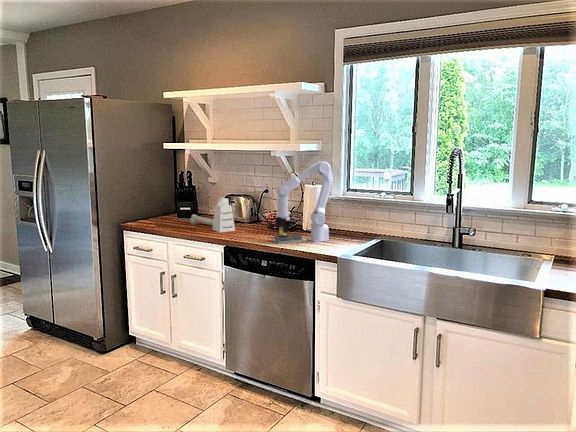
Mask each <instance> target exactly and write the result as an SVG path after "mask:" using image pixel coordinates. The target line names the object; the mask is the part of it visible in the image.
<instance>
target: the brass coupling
mask: <svg viewBox="0 0 576 432" xmlns="http://www.w3.org/2000/svg"><path fill="white" fill-rule="evenodd" d="M278 232H279V234H278V235H279V237H280V238H282V237H287V235H288V234H287V233H284V231H283V227H279V230H278Z"/></svg>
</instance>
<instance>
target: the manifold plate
mask: <svg viewBox="0 0 576 432" xmlns="http://www.w3.org/2000/svg"><path fill="white" fill-rule="evenodd" d="M308 239H309V238H308ZM308 239H307V238H305V237H303V235H302V234H299V233H296V234H291V236H290V235H288V234H287V237H282V238H280V237H279V234H275V235H274V238H271V242H272V243H273V242H274V243H275V244H277V245H281V244H292V243H302V242H308Z"/></svg>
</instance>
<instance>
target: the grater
mask: <svg viewBox="0 0 576 432" xmlns="http://www.w3.org/2000/svg"><path fill="white" fill-rule="evenodd" d="M229 200H230V199H229V198H228V197H227V198H225V197H218V199H217V204H215V205H214V213H213V214H214V215H213V219H212V220H213V226H212V231H215V232H217V233H226V232H236V228H235V221H234V220H235V219H234V214H233V208H232V204H231V205H230V204H229Z"/></svg>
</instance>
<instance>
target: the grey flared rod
mask: <svg viewBox="0 0 576 432" xmlns="http://www.w3.org/2000/svg"><path fill="white" fill-rule="evenodd" d="M213 220H214V219H213V218H212V219H211V218H207V217H203V216H199V215H197V214H194V213H193V214H192V215H191V218H189V223H190V224H191V225H198V224H199V222H200V223H204V224H206V225H209V226H211V227H213Z"/></svg>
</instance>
